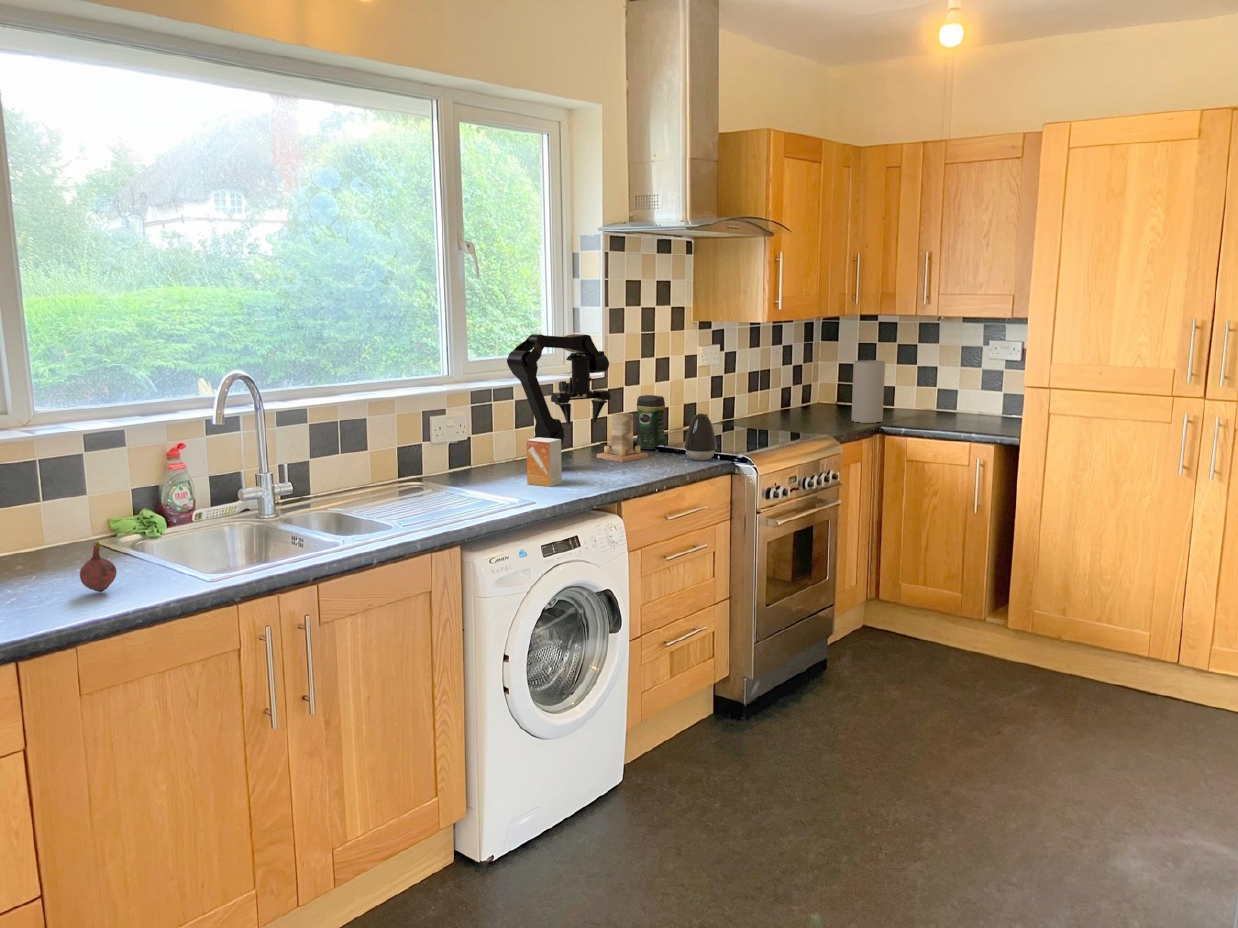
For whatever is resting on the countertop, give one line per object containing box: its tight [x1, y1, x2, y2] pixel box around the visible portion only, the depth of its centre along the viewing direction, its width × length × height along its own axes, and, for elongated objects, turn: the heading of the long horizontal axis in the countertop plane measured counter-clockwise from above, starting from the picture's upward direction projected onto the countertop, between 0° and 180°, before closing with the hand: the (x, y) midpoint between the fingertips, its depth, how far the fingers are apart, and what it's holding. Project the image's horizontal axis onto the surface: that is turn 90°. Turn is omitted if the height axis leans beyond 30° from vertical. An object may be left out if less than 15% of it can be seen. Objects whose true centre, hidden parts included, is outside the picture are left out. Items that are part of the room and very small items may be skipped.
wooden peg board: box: [596, 445, 649, 463], centre depth 322 cm, size 12×12×4 cm
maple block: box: [611, 412, 634, 455], centre depth 321 cm, size 5×5×13 cm
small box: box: [526, 437, 563, 488], centre depth 279 cm, size 8×6×13 cm
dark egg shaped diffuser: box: [684, 412, 717, 462], centre depth 316 cm, size 10×10×15 cm
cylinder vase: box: [851, 359, 886, 424], centre depth 401 cm, size 12×12×25 cm
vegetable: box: [79, 540, 118, 593], centre depth 180 cm, size 6×6×10 cm
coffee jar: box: [636, 394, 666, 450], centre depth 339 cm, size 10×8×19 cm
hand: (581, 423), depth 309 cm, fingers open, 9 cm apart
